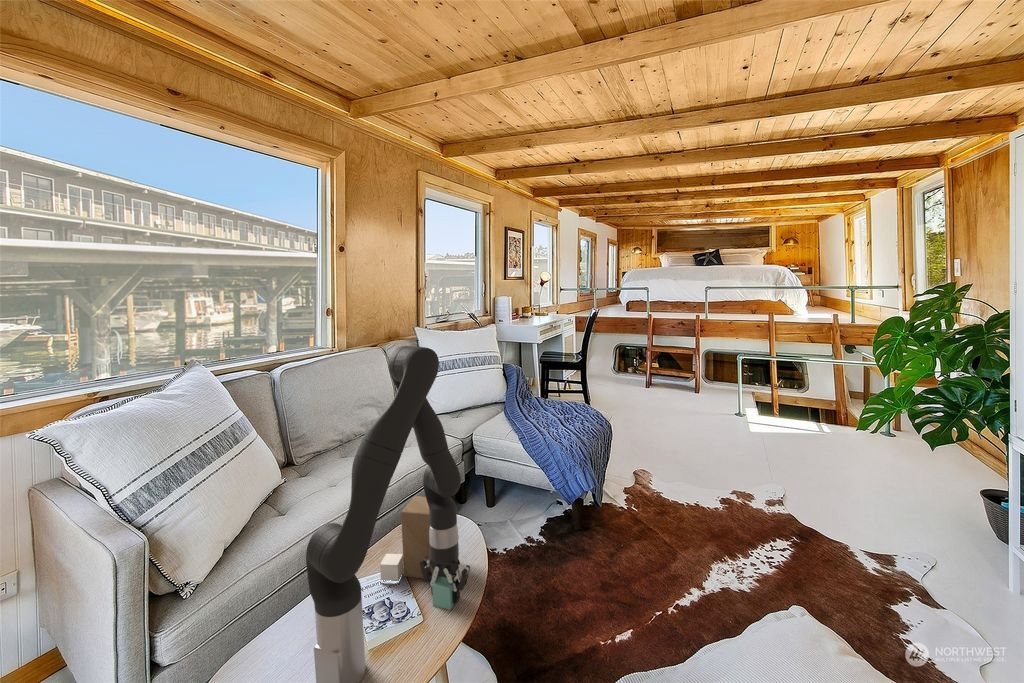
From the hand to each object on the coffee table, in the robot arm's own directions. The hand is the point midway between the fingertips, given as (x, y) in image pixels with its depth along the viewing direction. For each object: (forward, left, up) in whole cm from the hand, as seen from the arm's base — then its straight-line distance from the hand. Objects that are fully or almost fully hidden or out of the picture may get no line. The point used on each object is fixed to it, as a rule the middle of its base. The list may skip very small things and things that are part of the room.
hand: (445, 599), depth 117 cm
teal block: (0, 0, -1) cm, 1 cm away
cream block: (+4, +19, -1) cm, 19 cm away
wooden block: (+11, +12, -1) cm, 16 cm away
